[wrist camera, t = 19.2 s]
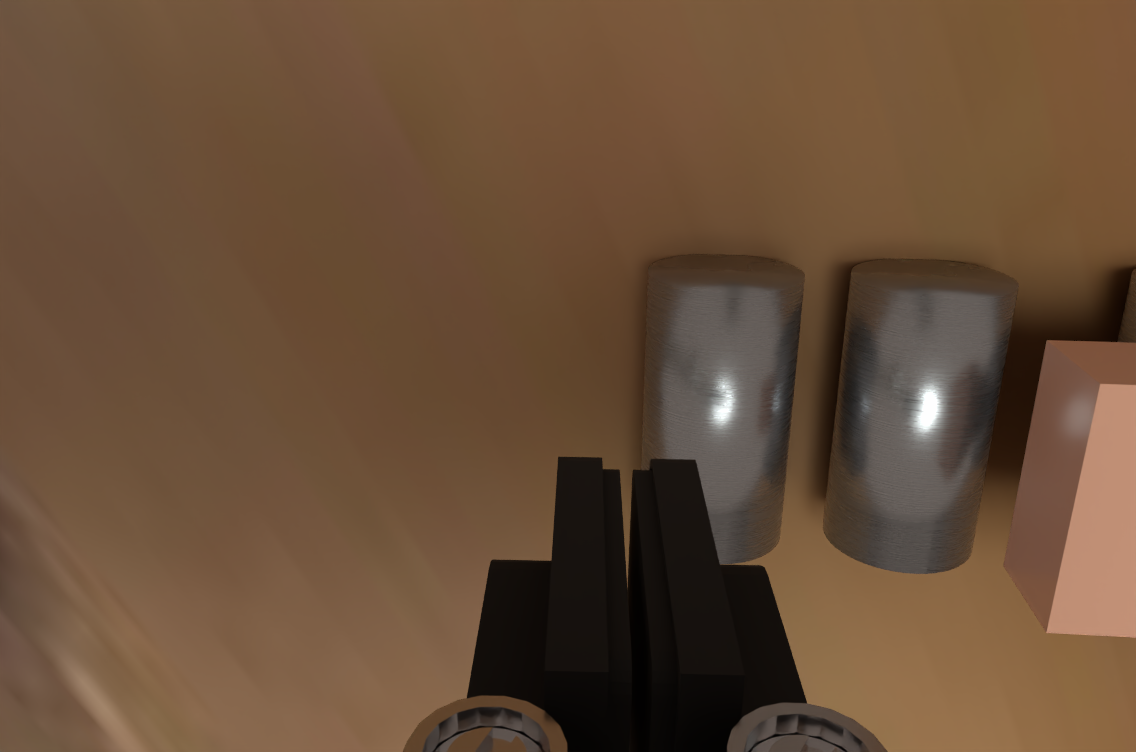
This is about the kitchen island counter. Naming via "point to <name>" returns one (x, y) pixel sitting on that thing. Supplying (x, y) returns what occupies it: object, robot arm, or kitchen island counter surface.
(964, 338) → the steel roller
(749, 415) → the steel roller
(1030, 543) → the terracotta slab
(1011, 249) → the kitchen island counter surface
